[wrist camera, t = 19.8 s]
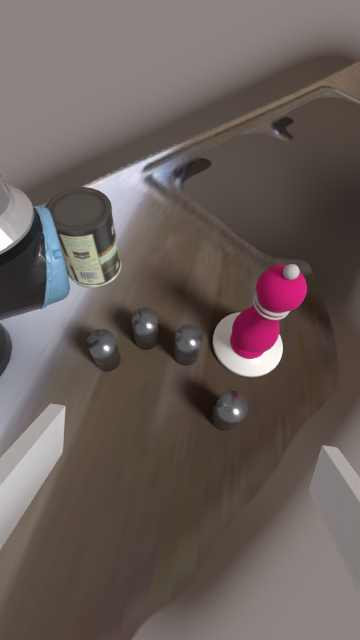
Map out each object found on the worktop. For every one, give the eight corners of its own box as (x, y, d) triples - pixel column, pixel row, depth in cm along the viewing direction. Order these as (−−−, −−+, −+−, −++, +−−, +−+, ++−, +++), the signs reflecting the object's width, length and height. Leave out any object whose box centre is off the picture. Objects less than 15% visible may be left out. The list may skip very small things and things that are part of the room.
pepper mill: (224, 324, 52) (257, 242, 35) (264, 324, 52) (316, 243, 35) (229, 362, 48) (268, 293, 31) (272, 362, 49) (334, 293, 32)
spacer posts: (91, 344, 50) (81, 324, 43) (191, 315, 54) (195, 293, 47) (123, 471, 40) (117, 469, 34) (240, 424, 45) (253, 415, 38)
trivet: (201, 325, 53) (202, 322, 52) (260, 307, 55) (261, 304, 54) (230, 387, 47) (231, 385, 46) (293, 364, 50) (295, 362, 49)
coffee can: (110, 241, 61) (97, 180, 49) (129, 276, 57) (121, 219, 45) (61, 256, 58) (34, 196, 46) (77, 295, 54) (54, 240, 42)
